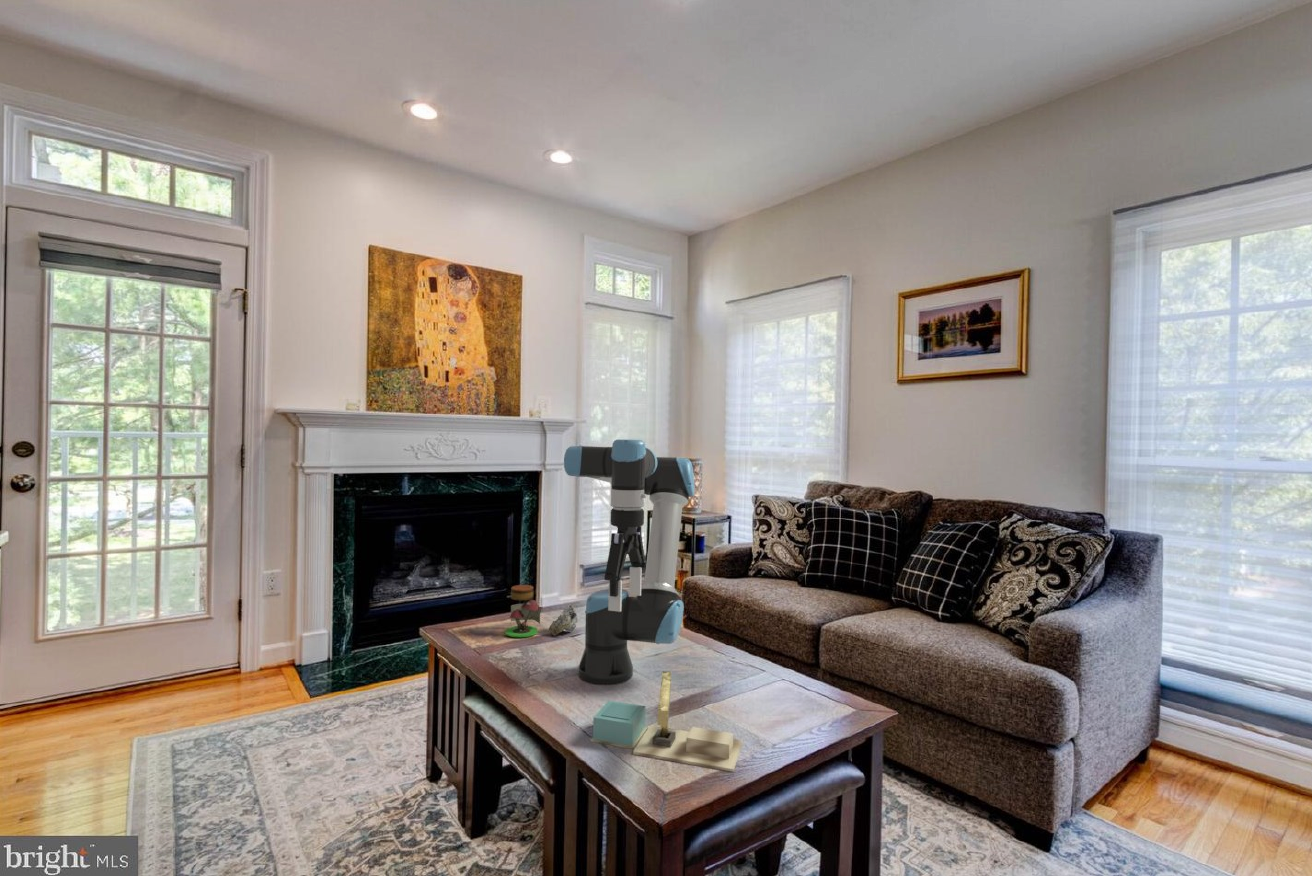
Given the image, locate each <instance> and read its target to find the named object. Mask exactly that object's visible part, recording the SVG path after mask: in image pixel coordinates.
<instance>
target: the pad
mask: <svg viewBox="0 0 1312 876" xmlns="http://www.w3.org/2000/svg"><path fill="white" fill-rule="evenodd" d="M648 728H649V726H646V725H645V728H644V730H643V731H642V733H641V734H640V736H639V737H638V739H637V740H636V742H635V743H634V745H633V746H627V745H621V744H615V743H610V742H604V741H598V740H593V736H592V737H591V738H590V739H589V742H591V743H592V742H593V743H598V744H603V745H608V746H615V747H620V748H625V749H631V750H634V749H635V748H636V746H637V745H638V743H639V742H640V740H641V738H642V737H643V735H644V734H645V732H646V731H647V729H648Z"/></svg>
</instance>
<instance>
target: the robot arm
mask: <svg viewBox="0 0 1312 876" xmlns="http://www.w3.org/2000/svg"><path fill="white" fill-rule="evenodd" d="M656 455H657V454H655V452H654V451H653V450H651V449H650V448H648V447H646V443H645V441H644V440H643V439H614V441H613V442H612V446H592V445H591V446H589V445H587V446H586V445H584V446H583V445H574V446H573V445H571V446H568V447H567V449H566V450H565V453H564V457H563V468H564V471H565V474H566V475H568V476H569V477H576V478H582V477H583V478H589V479H594V480H598V481H603V482H606V483H609V484H610V485H611V486H610V487H611V488H610V506H611V509H610V521H609V522H610V525H611V526H613V527H616V528H617V532H616V533H615V532H612V533H611V536H610V546H609V550H608V551H609V552H608V557H607V563H606V569H605V574H604V581H608V588H607V589H603V590H598V591H595V592H592V593H591V594H590V595H589V596H588V597H587V598H586V603H585V604H586V605H585V606H586V607H585V611H584V613H585V631H584V632H585V633H584V634H585V636H584V638H585V641H584V642H585V643H584V650H583V652H582V656H581V659H580V662H579V664H578V671H577V675H578V678H579V680H580V681H583V682H584V683H586V684H587V683H588V684H590V685H595V686H612V685H613V686H615V685H619V684H623V683H626V682H628V681H630V679H632V677H633V674H634V666H633V664H632V660H631V655H630V653H629V649H628V641H630V642H641V643H651V644H652V643H653V644H656V645H660V644H661V645H662V644H663V645H669V644H670V645H671V644H673V643H675V642H676V641H677V638H678V636H679V634H680V633H681V632H680V631H681V628H682V624H683V618H684V608H685V606H684V602H683V601H682V600H681V599H679V598H680V593H679V592H678V591H677V589H676V588H675V585H676V584H675V582H676V574H677V562H678V553H679V546H680V545H679V543H680V535H681V523H682V516H683V515H682V513H683V508H684V507H685V506H687V505H688V504H689V498H693V497H695V492H696V491H695V490H696V489H695V488H696V487H695V486H696V485H695V475H694V468H693V464H692V461H691V460H690V459H688V458H687V457H686V458H685V457H678V456H675V457H672V456H671V457H670V456H669V457H668V456H666V457H665V456H660V457H659V456H656ZM647 496H649V498H648V499H649V501H650V502H651V503H652V505H653V508H652V513H651V514H652V515H651V516H652V517H651V523H650V524H651V525H650V531H649V539H648V540H649V541H648V547H647V555H646V556H647V557H646V558H645V549H644V542H643V537H642V526H644V525H645V510H644V509H643V507H644V506H645V499H646V498H647ZM627 556H628V558H629V561H630V565H631V566H630V567H629V582H628V583H629V585H628V588H629V589H628V590H629V591H628V590H627V589H624V588H623V586H622V585H623V580H621V577H622V574H623V570H624V567H625V563H626V558H627ZM643 568H645V573H644V581H643V584H642V577H643V576H642V572H643V570H642V569H643Z"/></svg>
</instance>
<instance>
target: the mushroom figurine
mask: <svg viewBox="0 0 1312 876" xmlns="http://www.w3.org/2000/svg"><path fill="white" fill-rule="evenodd" d="M510 599H511V600H513V601H514V600H515V601H526V602H525V603H516V604H512V605H510V616H509V618H510V622H516V625H515V626H511V627H508V628H506V629H505V631H504V634H505V635H506V636H507V637H511V638H527V637H531V636H534V635H536V634H537V633H538V628H537V627H536V626H533V625H529V624H528V622H527V621H528V620H529V621H530V620H531V621H532V620H533V621H535V622H537V623H538V624H539V625H540V623H541V622H540V621H541V612H542V610H543V609H544V607H542V606H539V605H538V602H537V601H536V600H534V586H533V585H530V584H529V585H528V584H518V585H517V584H516V585H513V586H511V588H510ZM521 621H522V622H521Z"/></svg>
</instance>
